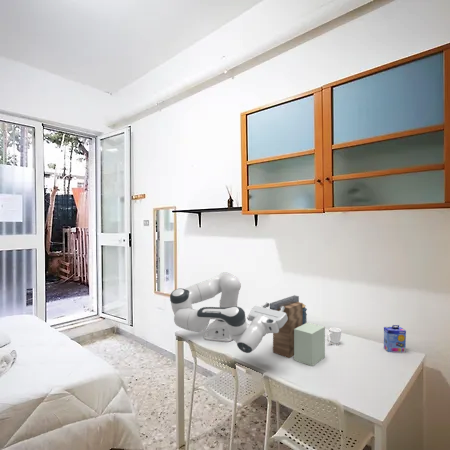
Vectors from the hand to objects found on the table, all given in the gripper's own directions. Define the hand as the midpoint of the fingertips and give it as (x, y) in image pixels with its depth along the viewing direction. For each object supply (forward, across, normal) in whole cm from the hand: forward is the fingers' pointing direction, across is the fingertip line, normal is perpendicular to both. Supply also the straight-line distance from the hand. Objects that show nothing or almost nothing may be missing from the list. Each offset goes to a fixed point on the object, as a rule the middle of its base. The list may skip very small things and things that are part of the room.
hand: (275, 305), depth 156 cm
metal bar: (+7, 0, -6) cm, 9 cm away
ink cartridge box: (+33, +42, -51) cm, 74 cm away
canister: (+31, -18, -50) cm, 62 cm away
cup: (+20, +14, -44) cm, 50 cm away
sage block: (-4, +13, -30) cm, 33 cm away
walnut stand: (-3, 0, -30) cm, 30 cm away
